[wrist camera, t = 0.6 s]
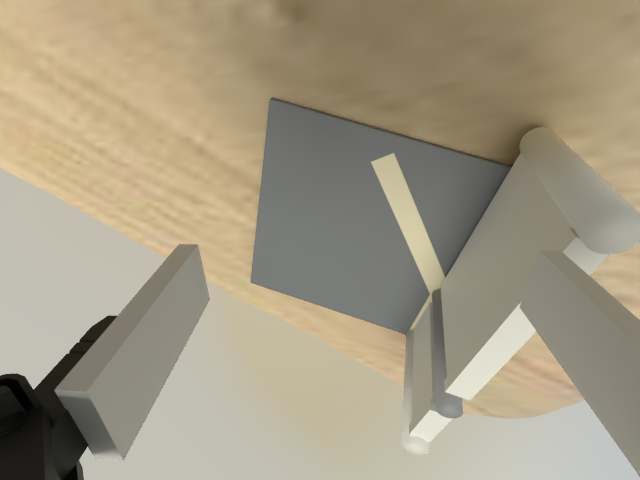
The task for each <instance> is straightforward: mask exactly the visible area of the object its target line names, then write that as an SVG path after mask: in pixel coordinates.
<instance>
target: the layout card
mask: <svg viewBox="0 0 640 480" xmlns="http://www.w3.org/2000/svg"><path fill="white" fill-rule="evenodd" d="M511 168H512V167H510V166H507V165H503V164H500V163H496V162H493V161H490V160H486V159H483V158H479V157H476V156H472V155H469V154H465V153H462V152H458V151H455V150H451V149H448V148H444V147H441V146H437V145H434V144H431V143H427V142H424V141H420V140H417V139H413V138H410V137H406V136H403V135H399V134H396V133H392V132H389V131H385V130H382V129H378V128H375V127H371V126H368V125H365V124H361V123H358V122H354V121H351V120H347V119H344V118H340V117H337V116H333V115H330V114H326V113H323V112H319V111H316V110H312V109H309V108H306V107H302V106H299V105H295V104H292V103H288V102H285V101H281V100H278V99H274V98H271V99H270V104H269V113H268V123H267V132H266V141H265V151H264V160H263V170H262V179H261V188H260V198H259V207H258V217H257V226H256V236H255V245H254V254H253V264H252V273H251V283H254V284H256V285H259V286H262V287H265V288H268V289H271V290H274V291H277V292H280V293H283V294H286V295H289V296H292V297H295V298H298V299H301V300H304V301H307V302H310V303H313V304H316V305H319V306H322V307H325V308H328V309H331V310H334V311H337V312H340V313H343V314H346V315H349V316H352V317H355V318H358V319H361V320H364V321H367V322H370V323H373V324H376V325H379V326H382V327H385V328H388V329H391V330H394V331H397V332H400V333H403V334H406V333H407V331H408V330H409V329H413V328H414V327H415V326H416V324H417V322H418V321H419V319H420V317H421V316H422V314H423V312H424V310H425V309H426V307H427V305H428V304H429V302H431V303H432V293H433V291H434V290H436V289H441V284H442V283H443V281H444V279H445V278H446V276H447V274H448V273H449V271H450V270H451V268H452V266H453V265H454V263H455V261H456V260H457V258H458V256H459V255H460V253H461V251H462V250H463V248H464V246H465V245H466V243H467V241H468V240H469V238H470V236H471V235H472V233H473V231H474V230H475V228H476V226H477V225H478V223H479V221H480V220H481V218H482V216H483V215H484V213H485V211H486V210H487V208H488V206H489V205H490V203H491V201H492V200H493V198H494V196H495V195H496V193H497V191H498V190H499V188H500V186H501V185H502V183H503V181H504V180H505V178H506V176H507V175H508V173H509V171H510V170H511Z"/></svg>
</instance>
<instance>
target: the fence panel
mask: <svg viewBox="0 0 640 480" xmlns="http://www.w3.org/2000/svg"><path fill="white" fill-rule="evenodd" d="M519 148H520V151H521V153H520V155H519V156H518V158H517V160H516V161H515V163H514V165H513V166H512V168H511V170H510V171H509V173H508V175H507V176H506V178H505V180H504V181H503V183H502V185H501V186H500V188H499V190H498V191H497V193H496V195H495V196H494V198H493V200H492V201H491V203H490V205H489V206H488V208H487V210H486V211H485V213H484V215H483V216H482V218H481V220H480V221H479V223H478V225H477V226H476V228H475V230H474V231H473V233H472V235H471V236H470V238H469V240H468V241H467V243H466V245H465V246H464V248H463V250H462V251H461V253H460V255H459V256H458V258H457V260H456V261H455V263H454V265H453V266H452V268H451V270H450V271H449V273H448V274H447V276H446V278H445V279H444V281H443V283H442V284H441V300H442V315H443V329H444V343H445V357H446V372H447V378H446V379H445V380H444V385H445V392H446V393H449V394H452V395H455V396H458V397H461V398H464V399H467V400H469V401H470V400H471V399H472V398H473V397H474V396H475V395H476V394H477V392H478V391H479V390H480V389H481V388H482V387H483V386H484V385H485V384H486V383H487V382H488V381H489V380H490V379H491V378H492V377H493V376H494V375H495V374H496V373H497V372H498V371H499V370H500V369H501V368H502V366H503V365H504V364H505V363H506V362H507V361H508V360H509V359H510V358H511V357H512V356H513V355H514V354H515V353H516V352H517V351H518V350H519V349H520V348H521V347H522V346H523V345H524V344H525V343H526V342H527V340H528V339H529V338H530V337H531V336H532V335H533V334H534V333H535V332H536V330H535V328H534V327H533V326H532V324H531V323H530V321H529V320H528V319H527V317H526V316H525V314H524V313H523V312H522V310H521V309H520V304H521V301H522V299H523V296H524V293H525V290H526V287H527V284H528V282H529V279H530V276H531V273H532V270H533V267H534V265H535V262H536V259H537V256H538V253H539V250H561V251H562V252H563V253H564V254H565V255H566V256H568V257H569V258H570V259H571V260H572V261H573V262H574V263H575V264H577V265H578V266H579V267H580V268H581V269H582V270H583V271H584V272H586V273H587V274H588V275H589V276H590V275H591V274H592V273H593V272H594V271H595V270H596V269H597V268H598V267H599V266H600V265H601V264H602V262H603V261H604V260H605V259H606V258H607V257H608V256H609V255H610V254H615V253H620V252H623V251H626V250H628V249H630V248H632V247H634V246H635V245H637V244H638V243H639V242H640V213H639V212H638V211H637V210H636V209H635V208H634V207H633V206H632V205H631V204H630V203H628V202H627V201H626V200H625V199H624V198H623V197H622V196H621V195H620V194H619V193H618V192H617V191H616V190H615V189H614V188H613V187H611V186H610V185H609V184H608V183H607V182H606V181H605V180H604V179H603V178H602V177H601V176H600V175H599V174H598V173H597V172H596V171H595V170H593V169H592V168H591V167H590V166H589V165H588V164H587V163H586V162H585V161H584V160H583V159H582V158H581V157H580V156H579V155H578V154H577V153H575V152H574V151H573V150H572V149H571V148H570V147H569V146H568V145H567V144H566V143H565V142H564V141H563V140H562V139H561V138H560V137H558V136H557V135H556V134H555V133H554V132H553V131H552V130H551V129H549V128H545V127H539V128H535V129H532V130H530V131H529V132H527V133H526V134H525V135H524V136H523V138H522V139H521V141H520V145H519Z"/></svg>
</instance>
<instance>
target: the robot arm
mask: <svg viewBox="0 0 640 480" xmlns="http://www.w3.org/2000/svg"><path fill="white" fill-rule="evenodd" d="M209 300H210V299H209V294H208V289H207V284H206V280H205V275H204V271H203V266H202V261H201V257H200V252H199V247H198V245H189V244H179V245H178V246H177V247H176V248H175V250H174V251H173V252H172V253H171V254H170V255H169V257H168V258H167V259H166V260H165V261H164V262H163V264H162V265H161V266H160V267H159V268H158V270H157V271H156V272H155V273H154V274H153V275H152V276H151V278H150V279H149V280H148V281H147V282H146V284H145V285H144V286H143V287H142V288H141V289H140V291H139V292H138V293H137V294H136V295H135V296H134V297H133V299H132V300H131V301H130V302H129V303H128V305H127V306H126V307H125V308H124V309H123V310H122V312H121V313H120V314H119V315H118V316H107V317H106V318H104V319H103V320H101V321H100V322H98V323H97V324H95V325H94V326H92V327H91V328H90V329H89V330H88V331H87V332H86V334H85V335H84V336H83V337H82V338H81V339H80V342H79V343H76V344H75V345H74V347H73V348H72V349H71V350H70V352H69V354H66V355H65V356H64V358H63V359H62V360H61V361H60V362H59V363H58V364H57V365H56V366H55V367H54V368H53V370H52V371H51V372H50V373H49V374H48V375H47V376H46V377H45V378H44V379H43V380H42V381H41V383H40V384H39V385H38V386H37V387H36V388H35V389H34V390H33V389H32V387H31V386H30V384H29V382H28V381H27V379H26V378H25V377H24V376H22V375H19V374H5V375H1V376H0V480H84V478H83V470H82V466H81V464H80V462H79V459H80V457H81V456H82V454H83V453H84V451H85V450H86V448H87V447H89V449H90V451H91V452H92V454H93V456H94V457H95V459H106V460H124V458H125V457H126V455H127V453H128V451H129V449H130V447H131V445H132V443H133V441H134V440H135V438H136V436H137V434H138V432H139V430H140V428H141V427H142V425H143V423H144V421H145V419H146V417H147V415H148V414H149V412H150V410H151V408H152V406H153V404H154V403H155V400H156V399H157V397H158V395H159V393H160V391H161V389H162V388H163V386H164V384H165V382H166V380H167V378H168V376H169V375H170V373H171V371H172V369H173V367H174V365H175V363H176V362H177V360H178V358H179V356H180V354H181V352H182V350H183V348H184V347H185V345H186V343H187V341H188V339H189V337H190V335H191V334H192V331H193V330H194V328H195V326H196V324H197V322H198V321H199V319H200V317H201V315H202V313H203V311H204V309H205V308H206V306H207V304H208V302H209ZM520 309H521V310H522V312H523V313H524V314H525V316H526V317H527V319H528V320H529V321H530V323H531V324H532V326H533V327H534V328H535V330H536V331H537V333H538V334H539V335H540V337H541V338H542V340H543V341H544V343H545V344H546V345H547V347H548V348H549V350H550V351H551V352H552V354H553V355H554V357H555V358H556V359H557V361H558V362H559V364H560V365H561V366H562V368H563V369H564V371H565V372H566V373H567V375H568V376H569V378H570V379H571V380H572V382H573V383H574V385H575V386H576V387H577V389H578V390H579V392H580V393H581V395H582V396H583V397H584V399H585V400H586V402H587V403H588V404H589V406H590V407H591V409H592V410H593V411H594V413H595V414H596V416H597V417H598V418H599V420H600V421H601V423H602V424H603V425H604V427H605V428H606V430H607V431H608V432H609V434H610V435H611V437H612V438H613V439H614V441H615V442H616V444H617V445H618V447H619V448H620V449H621V450H622V452H623V453H624V455H625V456H626V458H627V459H628V461H629V462H630V463H631V465H632V466H633V467H634V469H635V470H636V472H637V473H638V475H639V476H640V320H639V319H638V318H637V317H635V316H634V315H633V314H632V313H631V312H630V311H629V310H627V309H626V308H625V307H624V306H623V305H622V304H621V303H620V302H618V301H617V300H616V299H615V298H614V297H613V296H612V295H610V294H609V293H608V292H607V291H606V290H605V289H604V288H603V287H601V286H600V285H599V284H598V283H597V282H596V281H595V280H594V279H592V278H591V277H590V276H589V275H588V274H587V273H586V272H584V271H583V270H582V269H581V268H580V267H579V266H578V265H577V264H575V263H574V262H573V261H572V260H571V259H570V258H569V257H568V256H566V255H565V254H564V253H563V252H562V251H561V250H539V253H538V256H537V259H536V262H535V265H534V267H533V270H532V273H531V276H530V279H529V282H528V284H527V287H526V290H525V293H524V296H523V299H522V301H521V304H520Z"/></svg>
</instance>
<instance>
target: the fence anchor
mask: <svg viewBox="0 0 640 480" xmlns="http://www.w3.org/2000/svg"><path fill="white" fill-rule="evenodd" d="M446 378H447V372H446V357H445V343H444V329H443V315H442V300H441V289H436V290H434V291H433V293H432V303H431V302H429V304H428V305H427V307H426V309H425V310H424V312H423V314H422V316H421V317H420V319H419V321H418V322H417V324H416V326H415V327H414V328H413V329H409V330H408V331H407V333H406V356H405V378H404V402H403V423H402V448H403V450H404V451H406V452H408V453H410V454H413V455H426V454H427V453H429V442H430V441H431V440H432V439H433V438H434V437H435V436H436V435H437V434H438V433H439V432H440V431H441V430H442V429H443V428H444V427H445V426H446V425H447V424H448V423H449V421H450V420H452V418H458V417H460V416H462V414H463V408H462V398H461V397H458V396H455V395H452V394H449V393H446V392H445V385H444V380H445V379H446Z"/></svg>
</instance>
